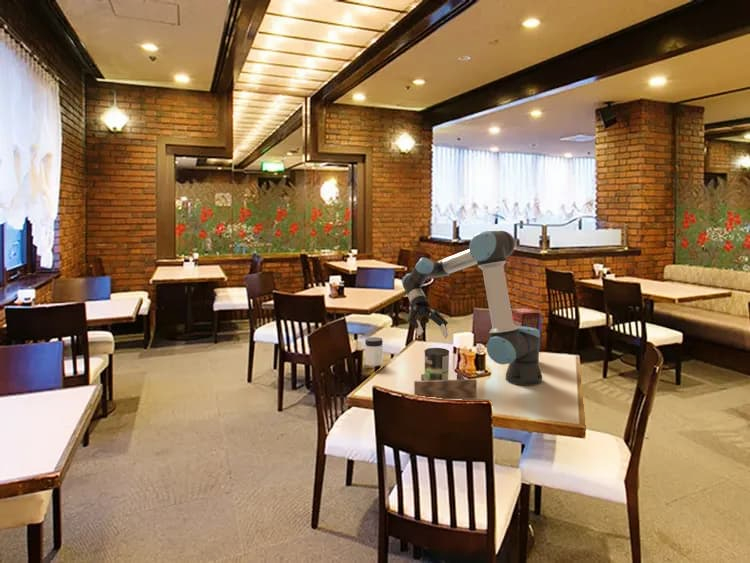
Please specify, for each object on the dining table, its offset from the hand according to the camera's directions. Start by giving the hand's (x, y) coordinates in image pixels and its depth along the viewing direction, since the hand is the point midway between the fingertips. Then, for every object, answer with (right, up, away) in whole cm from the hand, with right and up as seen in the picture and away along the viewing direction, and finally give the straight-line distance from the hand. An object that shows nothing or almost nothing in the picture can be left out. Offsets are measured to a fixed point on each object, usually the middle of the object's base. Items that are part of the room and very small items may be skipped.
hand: (434, 335), depth 229 cm
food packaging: (+46, -15, +26) cm, 55 cm away
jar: (-26, -16, +22) cm, 38 cm away
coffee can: (0, -20, -7) cm, 21 cm away
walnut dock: (+1, -21, -20) cm, 30 cm away
